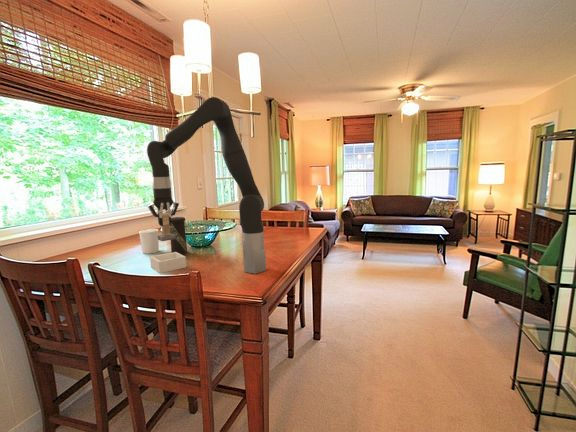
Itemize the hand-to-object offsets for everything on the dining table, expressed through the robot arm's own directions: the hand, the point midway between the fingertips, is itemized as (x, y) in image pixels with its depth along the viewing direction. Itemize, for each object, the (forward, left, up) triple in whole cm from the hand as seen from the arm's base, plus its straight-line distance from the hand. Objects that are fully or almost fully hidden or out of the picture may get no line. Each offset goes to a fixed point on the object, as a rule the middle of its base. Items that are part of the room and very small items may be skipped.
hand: (165, 225), depth 136 cm
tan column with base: (-1, 0, -6) cm, 6 cm away
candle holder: (+36, -3, -20) cm, 41 cm away
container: (+20, -13, -20) cm, 31 cm away
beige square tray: (0, 0, -20) cm, 20 cm away
